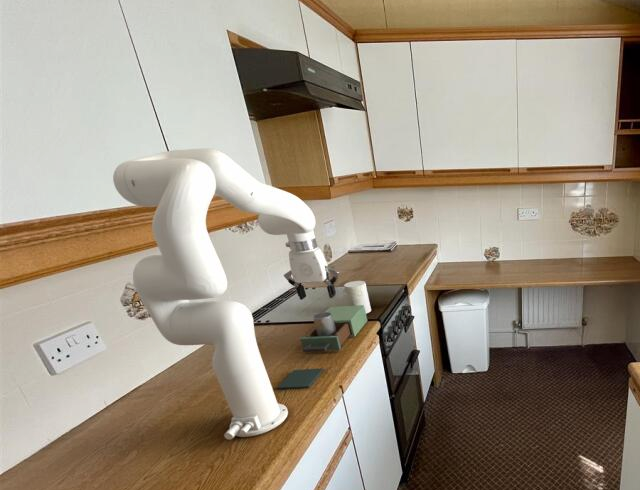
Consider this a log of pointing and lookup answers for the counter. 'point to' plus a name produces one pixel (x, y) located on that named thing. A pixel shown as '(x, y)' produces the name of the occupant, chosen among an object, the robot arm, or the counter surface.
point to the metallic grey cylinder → (324, 324)
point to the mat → (300, 379)
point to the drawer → (326, 339)
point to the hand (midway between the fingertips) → (318, 297)
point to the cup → (357, 294)
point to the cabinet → (350, 317)
